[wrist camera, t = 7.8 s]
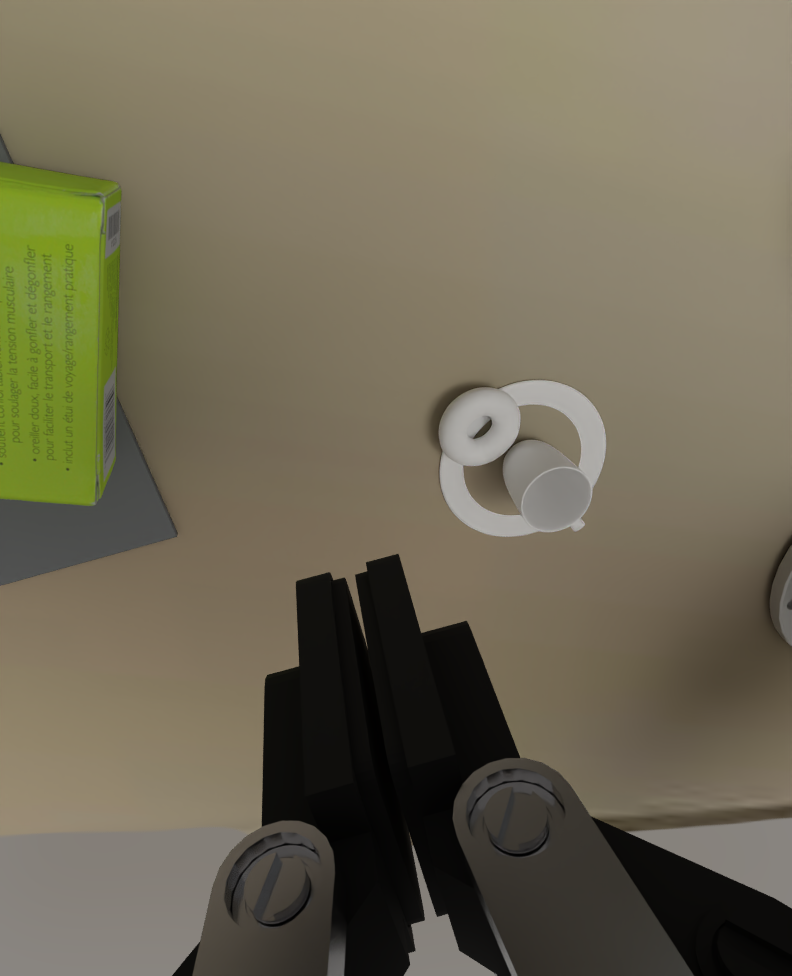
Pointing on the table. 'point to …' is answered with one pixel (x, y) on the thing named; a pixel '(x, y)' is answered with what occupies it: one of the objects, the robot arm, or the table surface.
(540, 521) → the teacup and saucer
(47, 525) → the mat
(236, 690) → the table surface
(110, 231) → the box
